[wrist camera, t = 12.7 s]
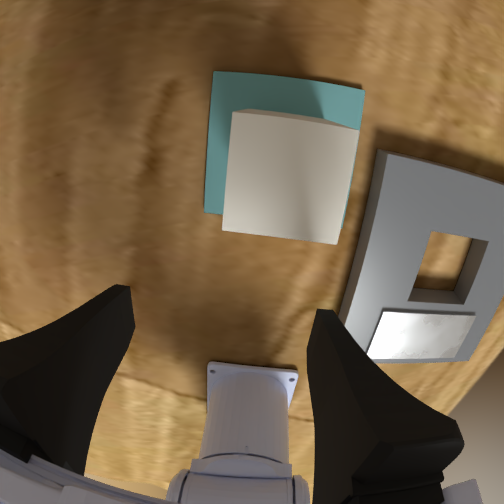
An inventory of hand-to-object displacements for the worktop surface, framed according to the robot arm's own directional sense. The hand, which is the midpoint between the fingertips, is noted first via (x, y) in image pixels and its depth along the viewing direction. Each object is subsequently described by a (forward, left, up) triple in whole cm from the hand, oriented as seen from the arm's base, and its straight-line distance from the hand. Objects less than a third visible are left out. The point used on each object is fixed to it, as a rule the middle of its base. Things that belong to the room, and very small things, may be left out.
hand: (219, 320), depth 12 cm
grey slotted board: (-2, -15, -10) cm, 18 cm away
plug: (+5, -2, -10) cm, 11 cm away
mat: (+5, -2, -10) cm, 12 cm away
